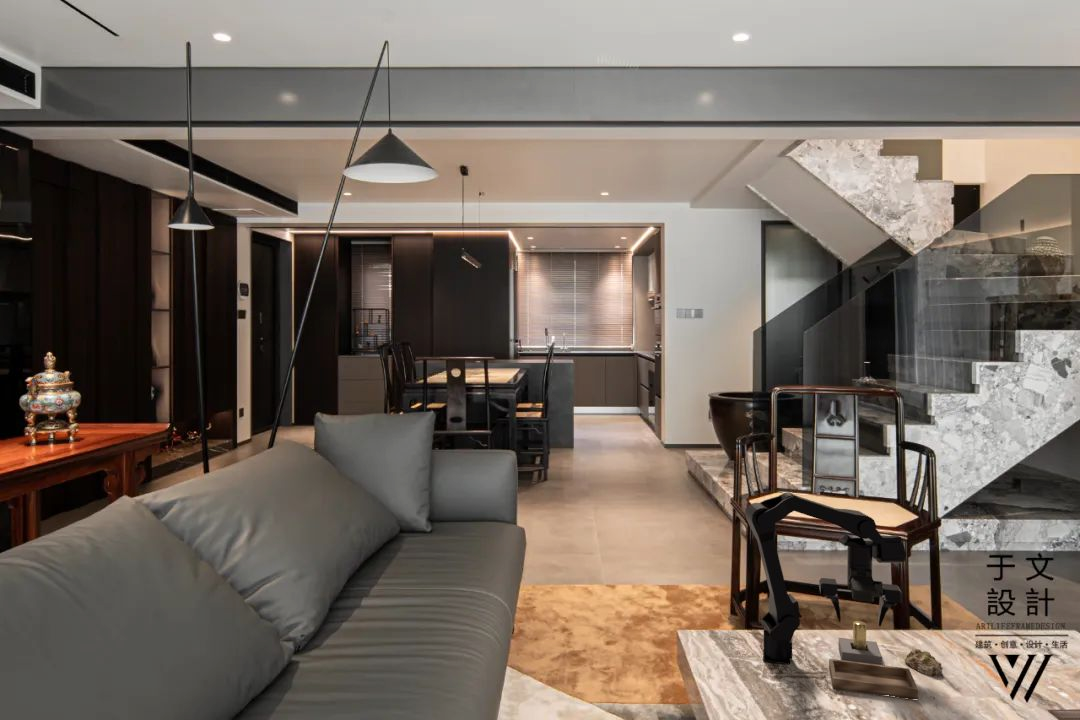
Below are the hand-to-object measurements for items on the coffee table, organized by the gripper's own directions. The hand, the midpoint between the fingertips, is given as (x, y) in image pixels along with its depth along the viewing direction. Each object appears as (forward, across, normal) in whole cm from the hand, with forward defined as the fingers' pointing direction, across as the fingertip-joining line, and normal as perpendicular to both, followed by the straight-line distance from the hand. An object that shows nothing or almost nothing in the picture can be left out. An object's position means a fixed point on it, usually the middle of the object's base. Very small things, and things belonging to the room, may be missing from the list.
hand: (859, 623), depth 175 cm
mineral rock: (+9, +15, 0) cm, 18 cm away
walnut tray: (+9, +1, -13) cm, 16 cm away
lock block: (+9, 0, 0) cm, 9 cm away
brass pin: (+9, 0, 0) cm, 9 cm away
